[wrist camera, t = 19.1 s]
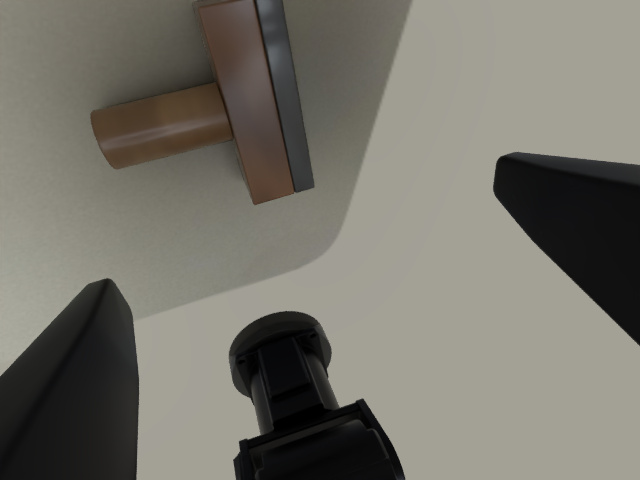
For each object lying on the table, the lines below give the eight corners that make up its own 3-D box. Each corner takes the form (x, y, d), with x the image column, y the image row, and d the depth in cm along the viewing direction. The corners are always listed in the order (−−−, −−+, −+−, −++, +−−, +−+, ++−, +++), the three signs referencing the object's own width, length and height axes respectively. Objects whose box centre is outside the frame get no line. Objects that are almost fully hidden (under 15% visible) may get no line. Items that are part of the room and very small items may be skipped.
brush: (315, 188, 19) (143, 238, 17) (298, 164, 21) (146, 206, 20) (281, -10, 14) (40, 38, 12) (264, -12, 16) (60, 28, 15)
